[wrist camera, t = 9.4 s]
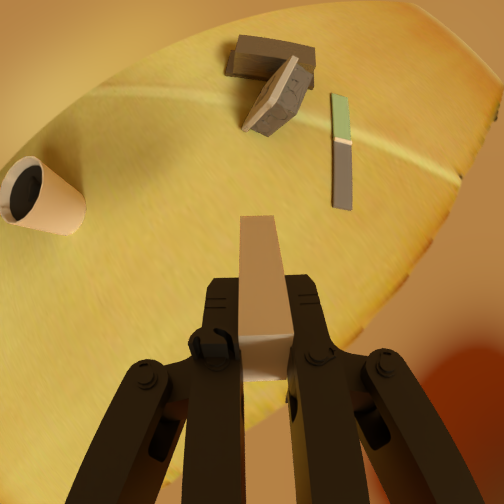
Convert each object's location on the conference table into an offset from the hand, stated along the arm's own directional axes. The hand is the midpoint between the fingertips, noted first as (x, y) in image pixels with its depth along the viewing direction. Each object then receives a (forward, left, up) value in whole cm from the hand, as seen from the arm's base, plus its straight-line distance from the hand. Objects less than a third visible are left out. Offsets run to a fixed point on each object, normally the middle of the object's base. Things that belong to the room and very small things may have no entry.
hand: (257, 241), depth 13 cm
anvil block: (+1, +26, -16) cm, 31 cm away
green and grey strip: (+11, +16, -16) cm, 25 cm away
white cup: (-22, +3, -16) cm, 27 cm away
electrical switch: (+2, +19, -16) cm, 25 cm away
